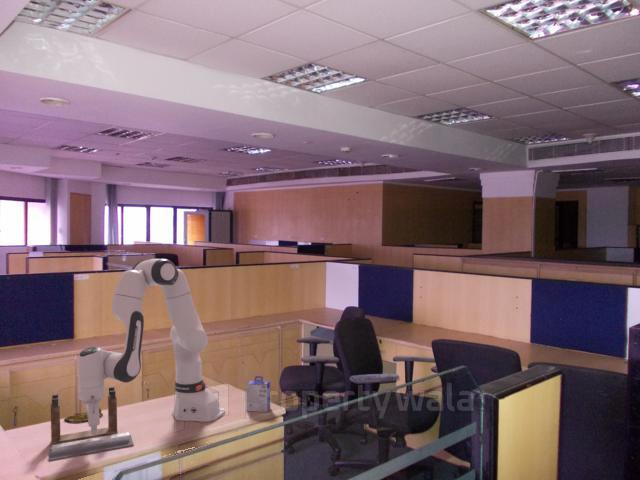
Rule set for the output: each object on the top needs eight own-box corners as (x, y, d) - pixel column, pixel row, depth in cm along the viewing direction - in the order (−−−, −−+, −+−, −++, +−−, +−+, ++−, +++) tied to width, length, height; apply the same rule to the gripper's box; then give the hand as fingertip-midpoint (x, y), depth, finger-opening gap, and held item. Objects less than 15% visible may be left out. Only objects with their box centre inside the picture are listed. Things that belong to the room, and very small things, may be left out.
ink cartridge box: (271, 408, 231) (270, 375, 231) (267, 412, 226) (267, 379, 225) (249, 406, 233) (249, 375, 232) (246, 411, 228) (245, 378, 227)
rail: (128, 438, 198) (128, 432, 198) (129, 441, 195) (129, 434, 195) (52, 451, 187) (52, 445, 187) (52, 455, 184) (51, 448, 184)
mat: (130, 435, 202) (130, 434, 202) (133, 445, 193) (133, 444, 193) (49, 450, 189) (49, 448, 189) (48, 461, 180) (48, 459, 180)
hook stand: (116, 429, 208) (115, 386, 207) (117, 435, 202) (116, 390, 202) (51, 440, 198) (50, 395, 197) (51, 446, 192) (50, 400, 192)
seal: (63, 428, 213) (103, 422, 219) (63, 417, 212) (102, 411, 218) (65, 418, 222) (103, 412, 227) (64, 407, 221) (102, 402, 227)
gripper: (103, 399, 183) (104, 438, 183) (99, 383, 201) (100, 418, 201) (83, 402, 180) (85, 442, 180) (81, 386, 198) (83, 421, 199)
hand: (93, 429), depth 191 cm, fingers open, 8 cm apart
